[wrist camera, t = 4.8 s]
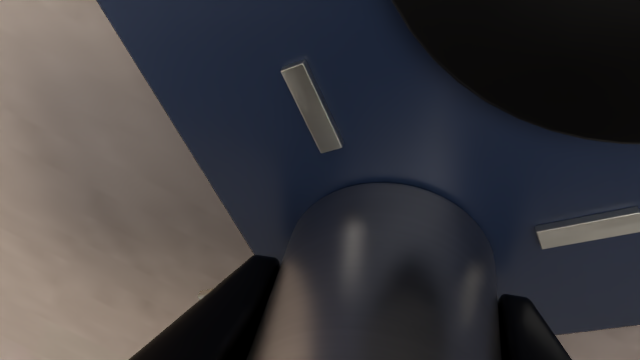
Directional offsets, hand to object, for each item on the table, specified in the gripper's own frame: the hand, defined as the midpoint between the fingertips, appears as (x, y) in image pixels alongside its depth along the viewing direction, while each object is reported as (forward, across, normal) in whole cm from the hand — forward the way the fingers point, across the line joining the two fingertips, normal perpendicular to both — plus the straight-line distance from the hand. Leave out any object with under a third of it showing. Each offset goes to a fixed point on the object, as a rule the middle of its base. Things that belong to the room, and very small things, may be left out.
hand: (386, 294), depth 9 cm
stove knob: (+1, 0, 0) cm, 1 cm away
